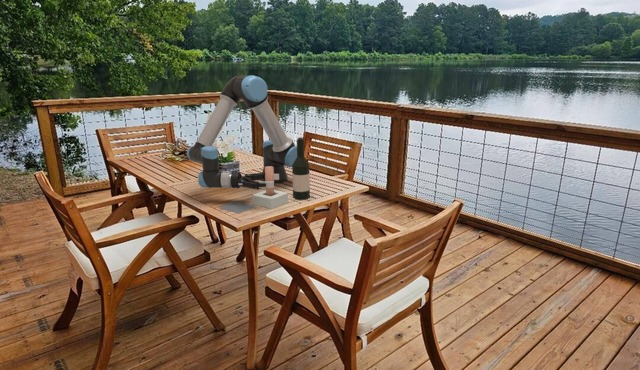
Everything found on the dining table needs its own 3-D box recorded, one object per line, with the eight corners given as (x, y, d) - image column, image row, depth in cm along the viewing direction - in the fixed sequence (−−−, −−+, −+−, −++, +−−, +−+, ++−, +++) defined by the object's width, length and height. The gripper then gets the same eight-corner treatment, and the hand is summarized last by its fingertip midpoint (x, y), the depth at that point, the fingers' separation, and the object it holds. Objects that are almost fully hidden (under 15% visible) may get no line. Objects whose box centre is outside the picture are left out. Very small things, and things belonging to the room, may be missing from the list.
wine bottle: (292, 195, 213) (291, 136, 205) (309, 194, 214) (308, 136, 205) (293, 200, 205) (291, 139, 197) (310, 199, 206) (309, 139, 197)
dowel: (264, 204, 200) (262, 167, 195) (270, 202, 203) (268, 165, 198) (271, 205, 198) (269, 168, 193) (276, 203, 201) (275, 166, 196)
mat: (217, 208, 195) (217, 207, 194) (236, 201, 204) (236, 200, 204) (238, 214, 187) (238, 213, 187) (257, 207, 196) (257, 206, 196)
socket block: (252, 204, 199) (252, 194, 198) (269, 198, 208) (269, 188, 207) (271, 209, 192) (271, 199, 191) (288, 202, 202) (288, 192, 200)
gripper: (239, 180, 212) (281, 181, 210) (224, 195, 188) (271, 196, 186) (238, 165, 209) (280, 166, 208) (223, 179, 186) (270, 180, 184)
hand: (276, 180), depth 197 cm, fingers open, 13 cm apart
